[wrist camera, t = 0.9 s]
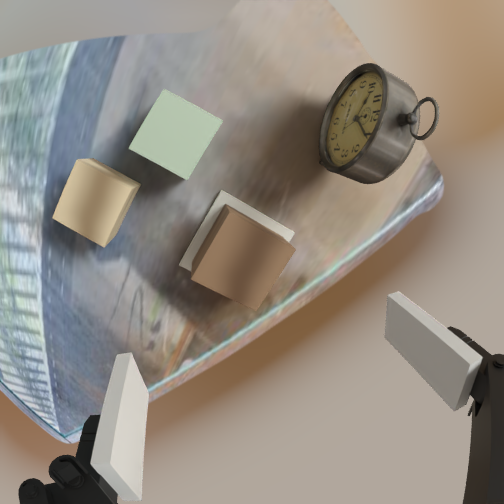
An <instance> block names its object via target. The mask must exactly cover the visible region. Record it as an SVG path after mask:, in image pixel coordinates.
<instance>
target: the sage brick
mask: <svg viewBox="0 0 504 504" xmlns="http://www.w3.org/2000/svg"><path fill="white" fill-rule="evenodd" d="M222 122H223V121H222V120H221V119H219V118H217V117H215V116H214V115H212V114H210V113H208V112H206V111H205V110H203V109H201V108H199V107H197V106H196V105H194V104H192V103H190V102H188V101H186V100H184V99H183V98H181V97H179V96H177V95H175V94H173V93H171V92H169V91H167V90H165V89H164V90H163V91H162V93H161V94H160V96H159V97H158V99H157V101H156V102H155V104H154V105H153V107H152V109H151V110H150V112H149V114H148V115H147V117H146V119H145V120H144V122H143V124H142V125H141V127H140V129H139V131H138V132H137V134H136V136H135V138H134V139H133V141H132V143H131V145H130V147H129V149H130V150H132V151H134V152H136V153H138V154H140V155H142V156H143V157H145V158H147V159H149V160H151V161H153V162H155V163H156V164H158V165H160V166H162V167H164V168H166V169H167V170H169V171H171V172H173V173H175V174H176V175H178V176H180V177H182V178H184V179H186V180H188V178H189V177H190V175H191V173H192V171H193V170H194V168H195V166H196V165H197V163H198V161H199V160H200V158H201V156H202V155H203V153H204V151H205V150H206V148H207V146H208V145H209V143H210V141H211V140H212V138H213V136H214V135H215V133H216V132H217V130H218V128H219V127H220V125H221V124H222Z"/></svg>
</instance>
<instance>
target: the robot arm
mask: <svg viewBox="0 0 504 504" xmlns="http://www.w3.org/2000/svg"><path fill="white" fill-rule="evenodd" d="M385 338H386V340H387V341H388V342H389V343H390V344H391V345H392V346H393V347H394V348H395V349H396V350H397V351H398V352H399V353H400V354H401V355H402V356H403V357H404V358H405V360H407V361H408V363H409V364H410V365H411V366H412V367H413V368H414V369H415V370H416V371H417V372H418V373H419V374H420V375H421V376H422V378H423V379H424V380H425V381H426V382H427V383H428V384H429V385H430V386H431V387H432V388H433V389H434V390H435V391H436V392H437V394H438V395H439V396H440V397H441V398H442V399H443V400H444V401H445V402H446V403H447V404H448V406H449V407H450V408H451V409H452V410H453V411H456V410H458V409H459V408H461V407H463V406H464V405H466V404H467V401H468V399H469V396H470V395H471V396H472V397H473V398H474V401H473V403H472V406H471V408H470V410H469V413H468V416H470V414H471V412H472V429H471V444H470V456H469V466H468V473H467V481H466V488H465V494H464V500H463V504H504V355H502V354H495V355H491V354H490V353H488V352H487V351H486V350H485V349H483V348H482V347H481V346H480V345H478V344H477V343H476V342H475V341H472V339H470V338H469V337H467V335H466V334H464V333H463V332H462V331H460V330H459V329H456V328H453V327H448V328H446V327H445V326H443V325H442V324H441V323H439V322H438V321H437V320H436V319H434V318H433V317H432V316H430V315H429V314H428V313H426V312H425V311H424V310H423V309H422V308H420V307H419V306H418V305H416V304H415V303H414V302H412V301H411V300H409V299H408V298H407V297H406V296H404V295H403V294H402V293H400V292H395V293H392V294H389V295H388V296H387V311H386V326H385ZM148 399H149V393H148V390H147V388H146V386H145V384H144V381H143V379H142V377H141V375H140V372H139V370H138V368H137V365H136V363H135V360H134V358H133V356H132V353H125V354H118V355H117V356H116V360H115V363H114V367H113V370H112V374H111V377H110V381H109V385H108V389H107V392H106V396H105V400H104V404H103V408H102V412H101V415H90V417H89V418H88V419H87V421H86V422H85V423H84V426H83V430H82V435H81V437H80V442H79V445H78V449H77V453H76V457H74V456H71V455H62V456H59V457H57V458H56V459H55V460H53V461H52V463H51V464H50V466H49V475H50V477H51V478H52V479H53V480H54V481H55V483H51V484H46V485H44V484H43V483H42V482H41V481H40V480H38V479H35V478H32V479H28V480H26V481H24V482H23V483H22V484H21V486H20V488H19V500H20V504H118V503H117V496H118V495H119V497H120V498H121V499H123V501H142V478H143V477H142V476H143V459H144V444H145V431H146V419H147V408H148Z"/></svg>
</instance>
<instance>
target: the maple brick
mask: <svg viewBox="0 0 504 504" xmlns="http://www.w3.org/2000/svg"><path fill="white" fill-rule="evenodd" d="M140 186H141V184H140V183H138V182H136V181H134V180H132V179H131V178H129V177H127V176H125V175H123V174H121V173H120V172H118V171H116V170H114V169H112V168H110V167H108V166H107V165H105V164H103V163H101V162H99V161H97V160H95V159H94V158H93V159H77V161H76V163H75V165H74V167H73V169H72V172H71V174H70V176H69V178H68V181H67V183H66V185H65V188H64V190H63V192H62V195H61V197H60V200H59V202H58V205H57V207H56V210H55V212H54V215H53V219H55V220H56V221H58V222H60V223H62V224H63V225H65V226H67V227H69V228H70V229H72V230H74V231H76V232H77V233H79V234H81V235H83V236H84V237H86V238H88V239H90V240H91V241H93V242H95V243H97V244H99V245H101V246H102V247H105V246H106V245H107V244H108V243H109V242H110V241H111V240H112V239H113V238H114V237H115V236H116V234H117V232H118V230H119V228H120V226H121V224H122V222H123V219H124V217H125V215H126V213H127V211H128V209H129V207H130V205H131V203H132V201H133V199H134V197H135V195H136V193H137V191H138V189H139V187H140Z"/></svg>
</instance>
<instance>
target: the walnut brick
mask: <svg viewBox="0 0 504 504" xmlns="http://www.w3.org/2000/svg"><path fill="white" fill-rule="evenodd" d="M295 250H296V249H295V248H294V247H293V246H292V245H291V244H290V243H289V242H288V241H287V240H286V239H285V238H284V237H283V236H281V235H279V234H277V233H276V232H274V231H272V230H271V229H269V228H267V227H265V226H264V225H262V224H260V223H258V222H257V221H255V220H253V219H252V218H250V217H248V216H246V215H245V214H243V213H241V212H239V211H238V210H236V209H234V208H232V207H230V206H229V205H227V204H225V205H224V207H223V208H222V210H221V212H220V213H219V215H218V217H217V219H216V220H215V222H214V224H213V225H212V227H211V229H210V231H209V232H208V234H207V236H206V238H205V239H204V241H203V243H202V245H201V246H200V248H199V250H198V252H197V253H196V255H195V257H194V259H193V261H192V268H191V280H193V281H195V282H197V283H199V284H201V285H203V286H205V287H207V288H209V289H211V290H213V291H215V292H217V293H219V294H221V295H223V296H226V297H228V298H230V299H232V300H234V301H236V302H238V303H240V304H242V305H244V306H246V307H248V308H250V309H253V310H255V311H257V309H258V308H259V306H260V305H261V303H262V302H263V300H264V299H265V297H266V296H267V294H268V292H269V291H270V289H271V288H272V286H273V285H274V283H275V282H276V280H277V278H278V277H279V275H280V274H281V272H282V271H283V269H284V268H285V266H286V264H287V263H288V261H289V260H290V258H291V257H292V255H293V253H294V252H295Z"/></svg>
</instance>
